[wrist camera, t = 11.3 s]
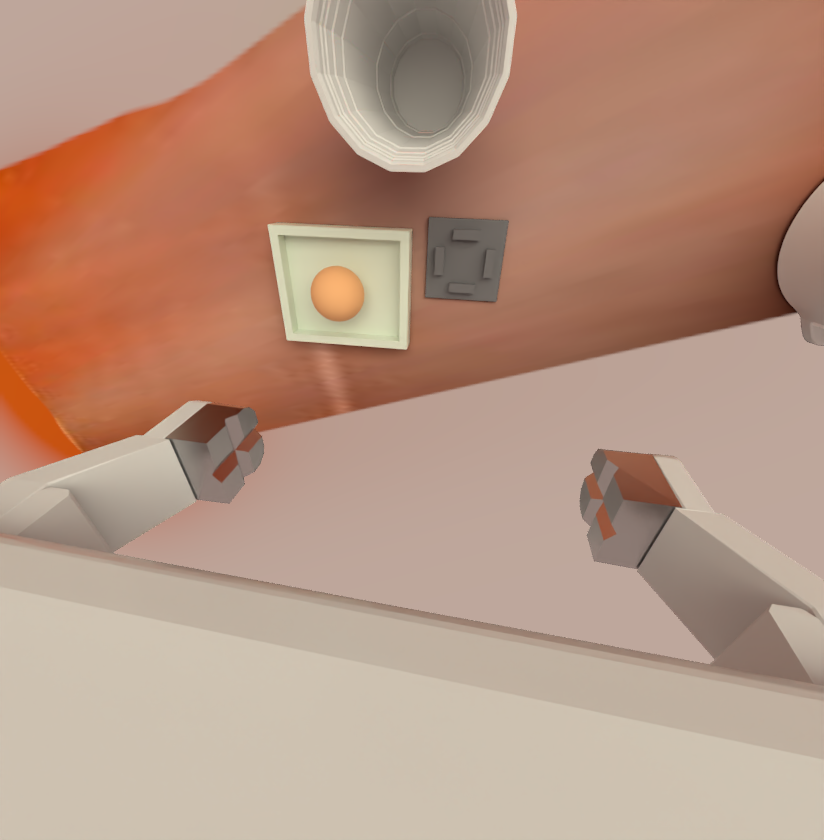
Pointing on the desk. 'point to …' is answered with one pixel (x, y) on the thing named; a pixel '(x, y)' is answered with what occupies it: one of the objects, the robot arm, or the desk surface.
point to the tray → (362, 254)
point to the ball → (337, 293)
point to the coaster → (465, 258)
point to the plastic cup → (409, 74)
